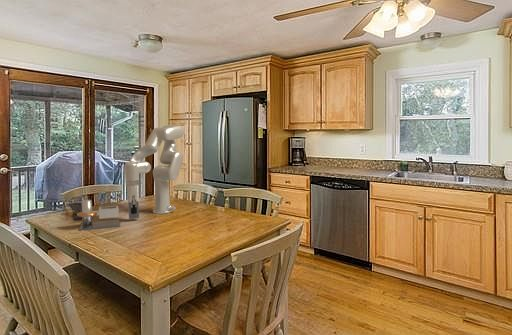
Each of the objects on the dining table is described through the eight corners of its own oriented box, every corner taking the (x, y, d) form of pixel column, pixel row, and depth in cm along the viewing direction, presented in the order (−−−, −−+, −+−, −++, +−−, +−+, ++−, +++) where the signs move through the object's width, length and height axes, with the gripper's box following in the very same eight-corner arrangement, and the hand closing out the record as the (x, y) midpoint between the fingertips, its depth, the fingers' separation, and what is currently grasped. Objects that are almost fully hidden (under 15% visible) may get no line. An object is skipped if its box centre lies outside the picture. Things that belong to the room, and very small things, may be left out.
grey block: (138, 216, 192) (137, 200, 191) (139, 217, 189) (138, 201, 188) (128, 217, 190) (128, 201, 188) (129, 219, 187) (128, 202, 186)
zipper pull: (82, 201, 211) (91, 208, 192) (82, 211, 211) (91, 219, 192) (67, 203, 205) (74, 210, 186) (67, 213, 206) (75, 221, 187)
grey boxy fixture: (119, 221, 188) (118, 196, 186) (120, 226, 176) (119, 200, 175) (78, 225, 178) (77, 199, 177) (76, 231, 167) (75, 203, 165)
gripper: (124, 181, 193) (126, 210, 195) (126, 185, 178) (128, 217, 180) (137, 180, 196) (139, 209, 198) (140, 184, 181) (141, 215, 183)
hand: (133, 212), depth 189 cm, fingers closed on grey block, 3 cm apart
